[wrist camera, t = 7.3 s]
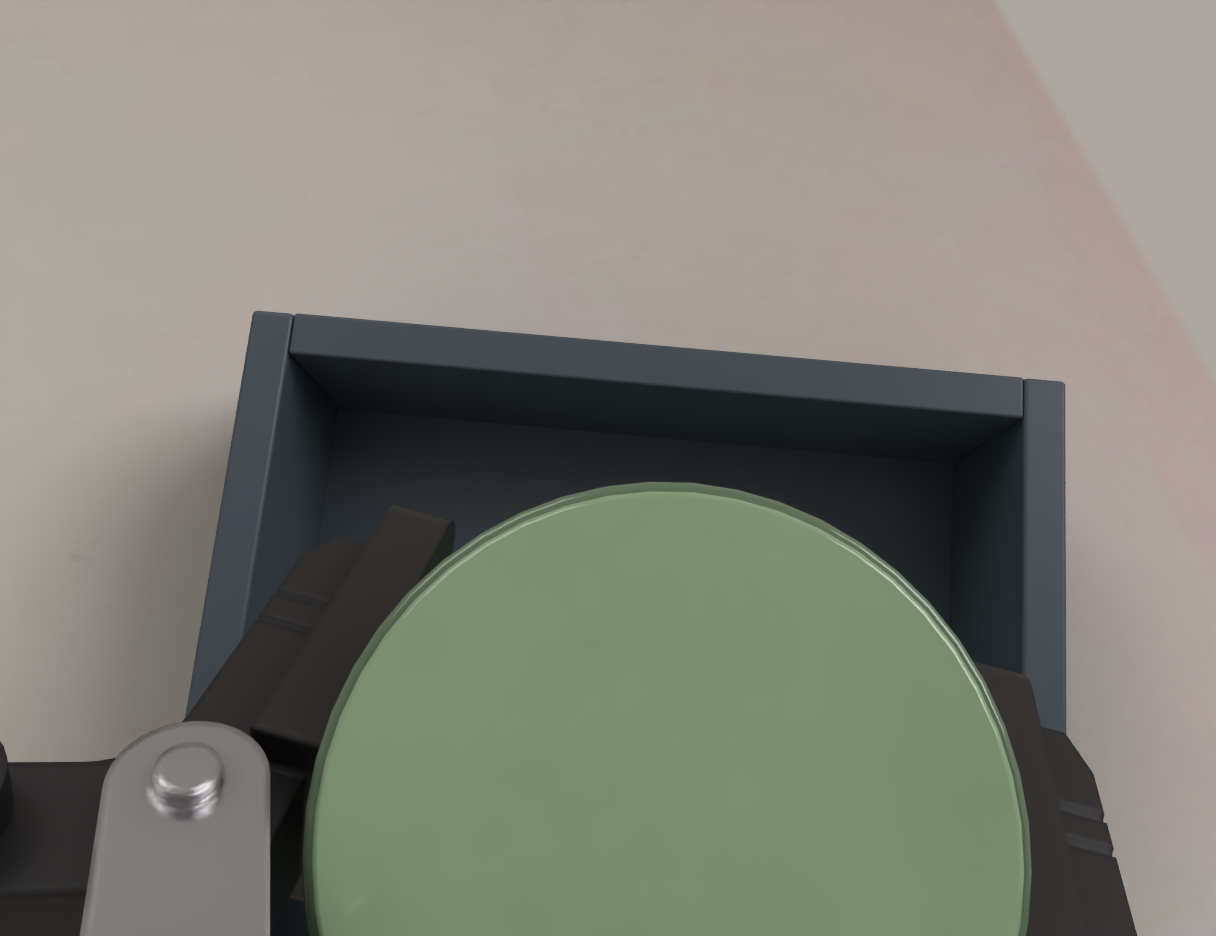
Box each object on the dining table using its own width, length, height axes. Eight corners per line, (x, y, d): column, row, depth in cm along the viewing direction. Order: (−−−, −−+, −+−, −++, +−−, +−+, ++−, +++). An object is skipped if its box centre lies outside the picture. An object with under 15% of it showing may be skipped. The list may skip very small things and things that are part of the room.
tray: (977, 439, 21) (1066, 380, 17) (966, 1182, 19) (1070, 1316, 15) (315, 380, 21) (251, 308, 17) (203, 1112, 19) (98, 1226, 15)
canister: (807, 607, 19) (1040, 508, 9) (790, 961, 17) (1039, 1299, 8) (479, 578, 19) (350, 447, 9) (439, 930, 17) (239, 1224, 8)
